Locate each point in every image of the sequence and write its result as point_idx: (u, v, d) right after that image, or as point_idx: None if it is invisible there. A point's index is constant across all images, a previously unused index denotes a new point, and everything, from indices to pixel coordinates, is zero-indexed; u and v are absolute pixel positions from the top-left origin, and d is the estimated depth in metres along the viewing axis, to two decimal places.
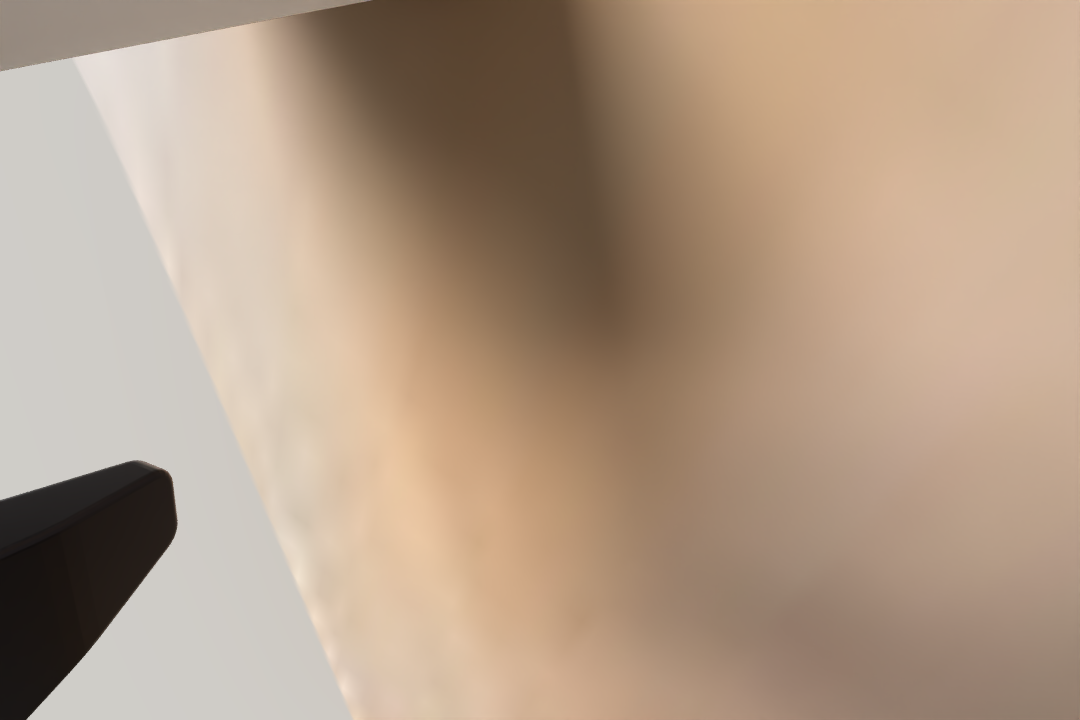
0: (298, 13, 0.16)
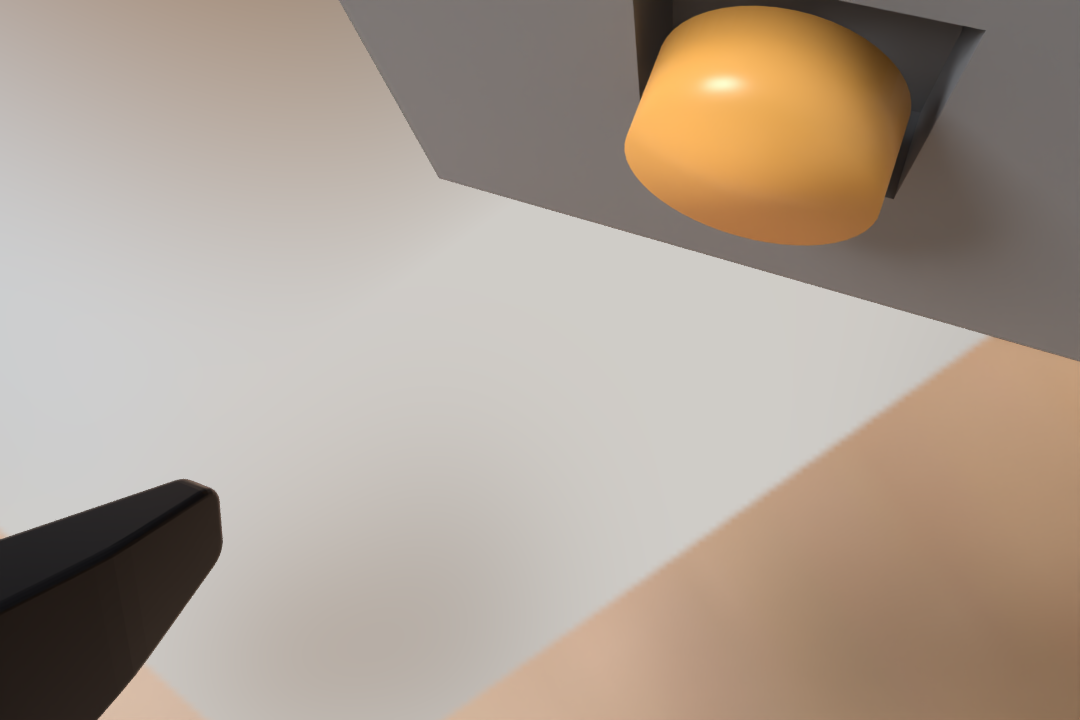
0: None
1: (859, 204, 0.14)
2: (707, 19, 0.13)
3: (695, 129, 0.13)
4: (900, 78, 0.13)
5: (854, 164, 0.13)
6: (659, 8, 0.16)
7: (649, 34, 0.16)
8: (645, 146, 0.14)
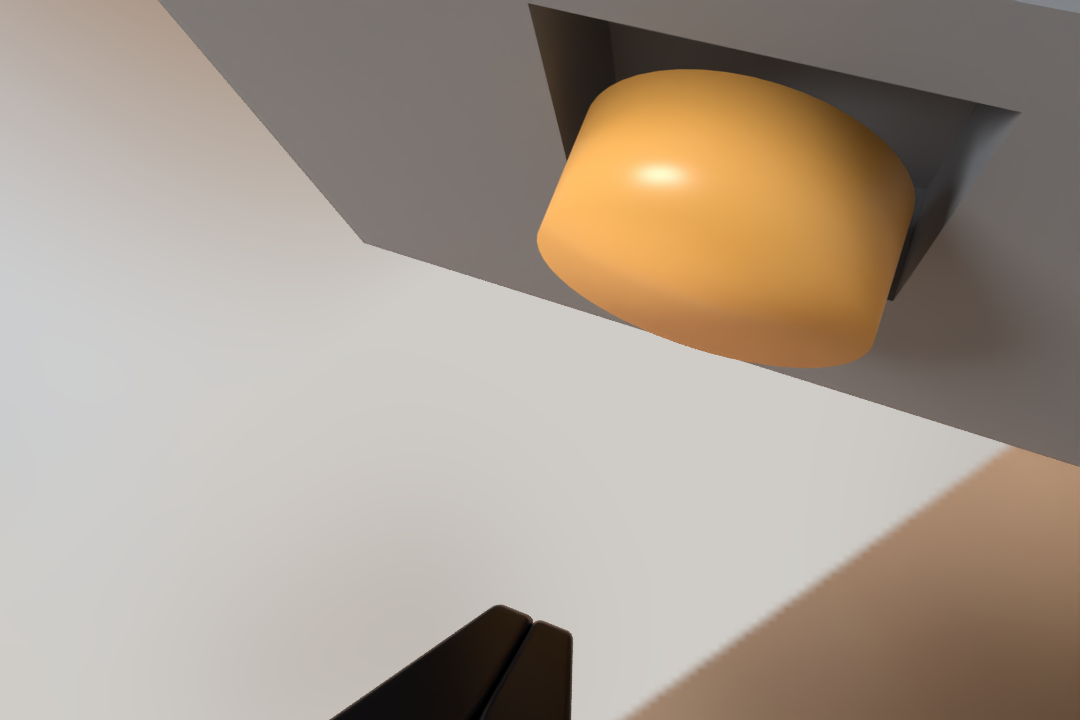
0: None
1: (845, 333, 0.10)
2: (637, 85, 0.10)
3: (620, 235, 0.10)
4: (900, 167, 0.10)
5: (836, 290, 0.09)
6: (590, 61, 0.12)
7: (577, 95, 0.12)
8: (563, 247, 0.11)
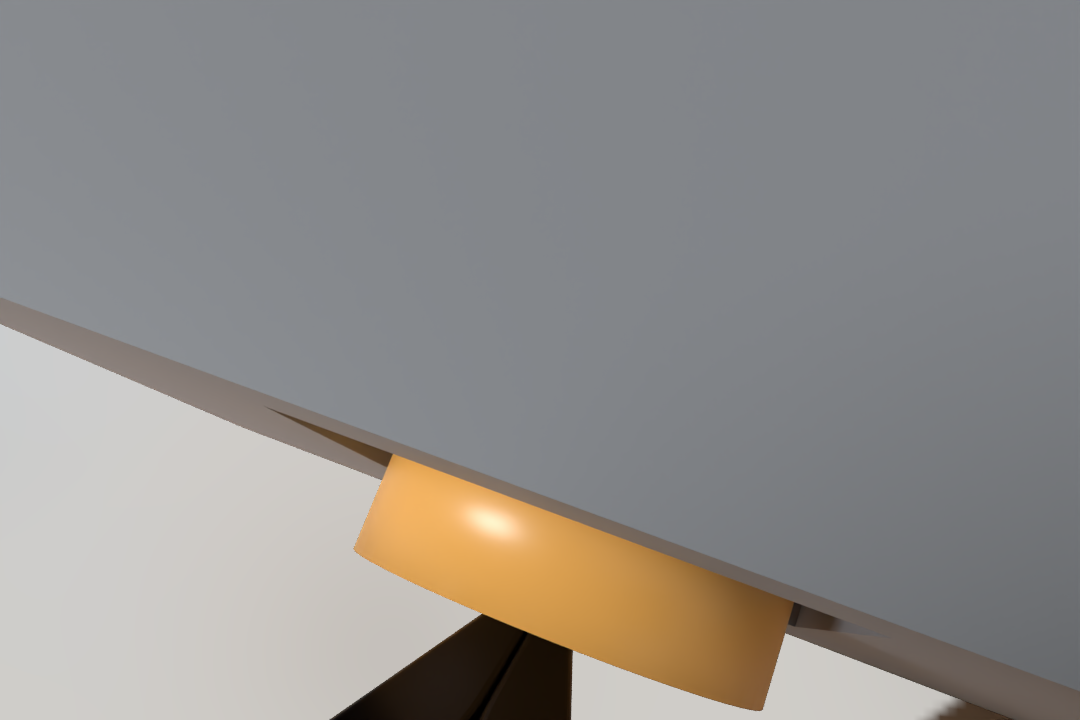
0: None
1: None
2: None
3: None
4: None
5: (698, 694, 0.07)
6: None
7: None
8: None
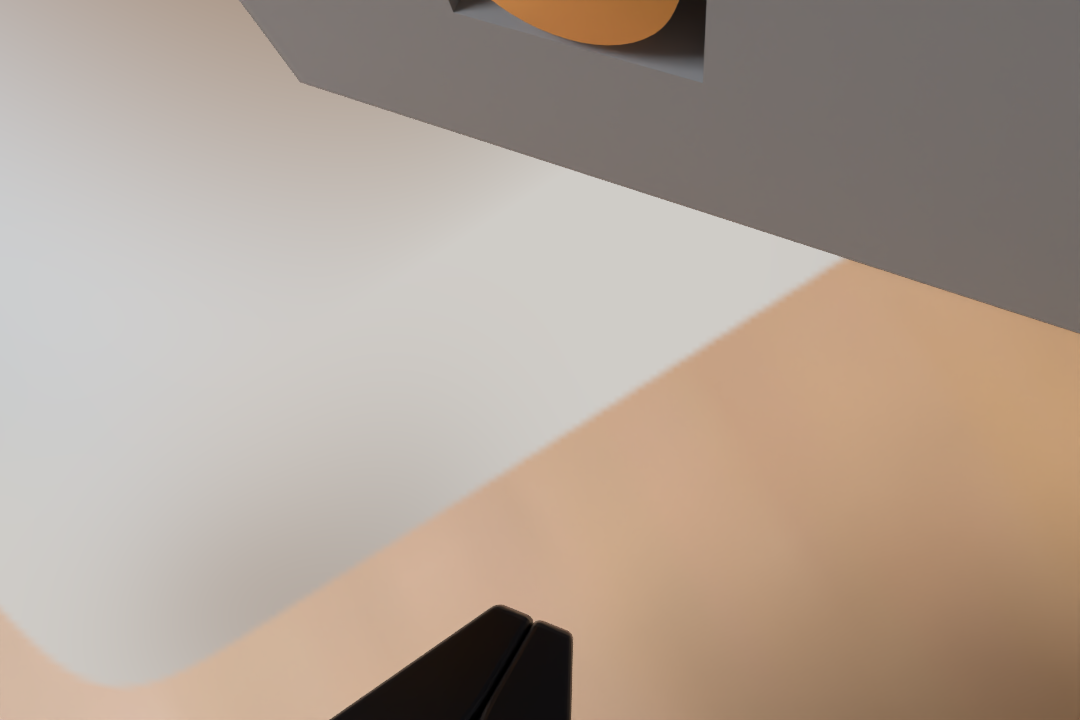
0: None
1: None
2: None
3: None
4: None
5: None
6: None
7: None
8: None
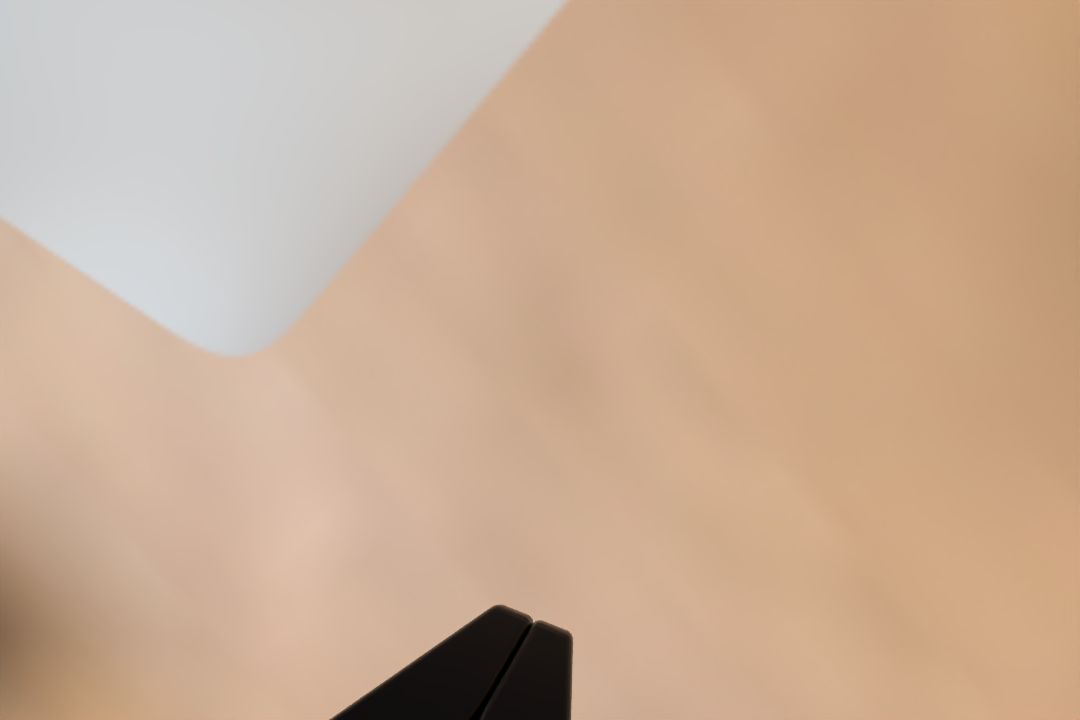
0: None
1: None
2: None
3: None
4: None
5: None
6: None
7: None
8: None
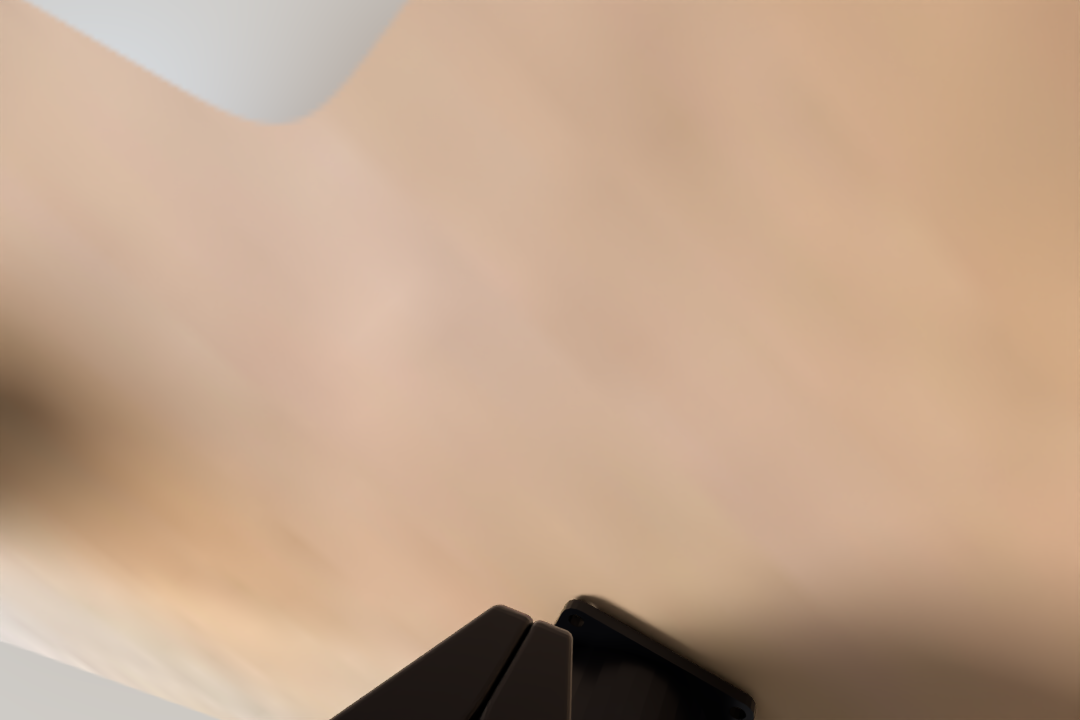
0: None
1: None
2: None
3: None
4: None
5: None
6: None
7: None
8: None
